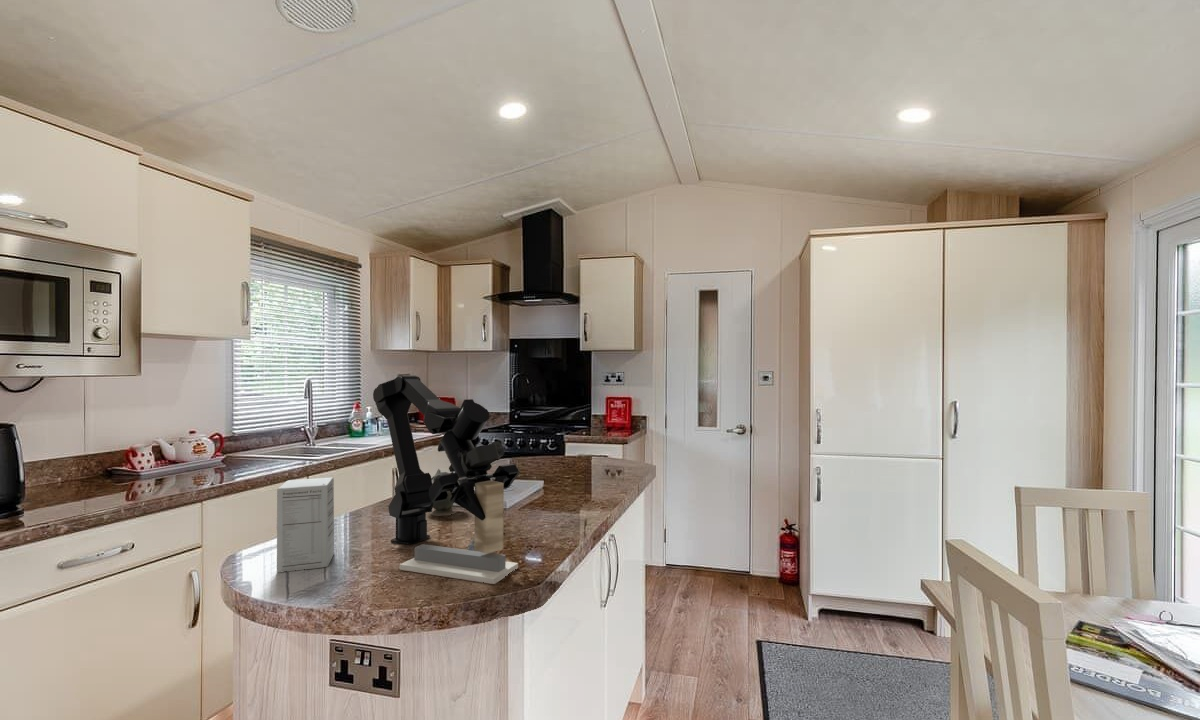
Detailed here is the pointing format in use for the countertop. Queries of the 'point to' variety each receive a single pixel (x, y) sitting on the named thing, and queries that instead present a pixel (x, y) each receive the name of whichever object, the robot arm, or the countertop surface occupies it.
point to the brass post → (489, 517)
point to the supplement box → (305, 524)
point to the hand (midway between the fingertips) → (493, 516)
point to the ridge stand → (459, 564)
